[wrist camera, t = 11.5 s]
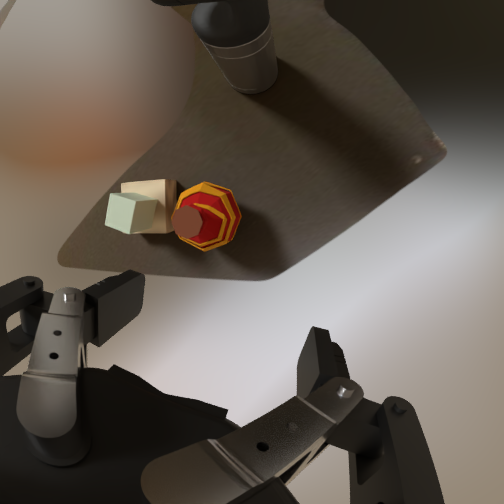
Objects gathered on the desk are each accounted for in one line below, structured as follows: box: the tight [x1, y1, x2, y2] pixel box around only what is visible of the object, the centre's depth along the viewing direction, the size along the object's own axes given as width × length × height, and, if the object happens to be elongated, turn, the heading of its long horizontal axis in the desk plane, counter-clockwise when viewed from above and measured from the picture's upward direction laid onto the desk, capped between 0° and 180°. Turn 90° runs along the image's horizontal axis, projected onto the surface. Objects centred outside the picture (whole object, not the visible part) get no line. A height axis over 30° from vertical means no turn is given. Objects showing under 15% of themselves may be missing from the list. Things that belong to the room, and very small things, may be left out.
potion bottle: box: [171, 181, 242, 252], centre depth 40 cm, size 10×10×15 cm
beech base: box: [121, 179, 177, 233], centre depth 46 cm, size 9×9×5 cm
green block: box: [105, 192, 158, 234], centre depth 40 cm, size 5×5×7 cm
